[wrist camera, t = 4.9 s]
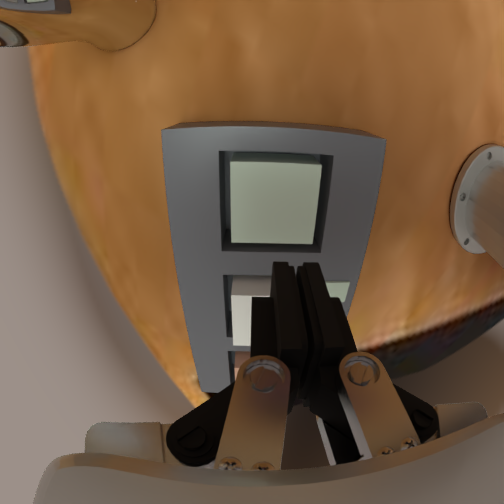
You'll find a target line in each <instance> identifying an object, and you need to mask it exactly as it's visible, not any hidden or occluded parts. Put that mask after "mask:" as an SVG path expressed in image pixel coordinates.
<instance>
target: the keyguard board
mask: <svg viewBox="0 0 504 504" xmlns="http://www.w3.org/2000/svg"><path fill="white" fill-rule="evenodd" d="M161 132H162V149H163V163H164V175H165V186H166V196H167V205H168V214H169V222H170V230H171V238H172V245H173V252H174V258H175V265H176V271H177V277H178V283H179V289H180V295H181V300H182V305H183V311H184V316H185V321H186V326H187V331H188V335H189V340H190V345H191V349H192V354H193V358H194V362H195V366H196V371H197V375H198V379H199V383H200V387H201V390H202V392H216V393H219V392H220V391H222V390H223V389H224V388H226V387H227V386H229V385H230V384H231V383H233V382H234V381H235V369H234V367H235V351H250V346H236V345H233V329H232V305H231V291H232V282H233V275H269V276H272V265H273V261H277V262H288V263H289V266H294V269H295V274H296V272H297V267H298V266H302V265H303V262H318V263H319V265H320V268H321V271H322V274H323V277H324V280H325V283H326V286H327V289H328V292H329V295H330V297H338V298H340V300H341V303H342V306H343V309H344V312H345V315H346V317H347V315H348V312H349V309H350V306H351V302H352V299H353V296H354V293H355V289H356V286H357V282H358V279H359V275H360V271H361V268H362V264H363V260H364V256H365V252H366V248H367V244H368V240H369V236H370V232H371V227H372V223H373V218H374V213H375V208H376V203H377V198H378V193H379V187H380V181H381V175H382V169H383V162H384V155H385V148H386V139H383V138H381V137H378V136H376V135H373V134H370V133H367V132H365V131H362V130H355V129H348V128H340V127H332V126H323V125H313V124H301V123H286V122H264V121H212V122H190V123H179V124H176V125H173V126H170V127H168V128H165V129H162V130H161ZM233 153H276V154H296V155H311V156H313V157H314V158H315V159H316V160H317V161H318V162H319V163H320V164H321V165H322V169H321V179H320V188H319V197H318V206H317V214H316V222H315V229H314V237H313V244H285V243H231V188H230V161H231V158H232V156H233Z"/></svg>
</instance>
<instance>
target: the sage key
mask: <svg viewBox="0 0 504 504" xmlns="http://www.w3.org/2000/svg"><path fill="white" fill-rule="evenodd" d="M321 169H322V165H321V164H320V163H319V162H318V161H317V160H316V159H315V158H314V157H313V156H311V155H296V154H276V153H233V156H232V158H231V161H230V188H231V243H285V244H313V237H314V229H315V222H316V214H317V206H318V197H319V188H320V179H321Z"/></svg>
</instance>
